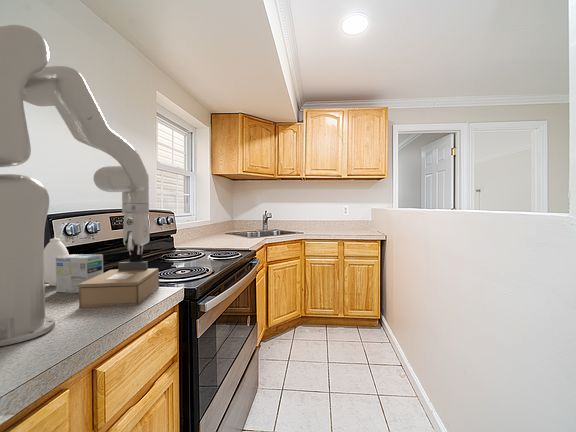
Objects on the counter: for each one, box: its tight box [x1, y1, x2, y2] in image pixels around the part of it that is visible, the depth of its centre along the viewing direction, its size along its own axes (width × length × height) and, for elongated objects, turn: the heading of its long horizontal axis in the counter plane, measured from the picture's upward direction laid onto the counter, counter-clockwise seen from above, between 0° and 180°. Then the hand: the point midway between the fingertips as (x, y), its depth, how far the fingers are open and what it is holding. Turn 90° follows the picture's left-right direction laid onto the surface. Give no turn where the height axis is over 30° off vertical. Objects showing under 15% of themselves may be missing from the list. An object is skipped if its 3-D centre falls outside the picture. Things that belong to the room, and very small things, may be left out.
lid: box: [78, 260, 159, 287], centre depth 82 cm, size 18×14×3 cm
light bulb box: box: [55, 253, 104, 294], centre depth 90 cm, size 11×7×11 cm, turn 84°
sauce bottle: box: [44, 230, 70, 287], centre depth 95 cm, size 8×8×18 cm
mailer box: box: [78, 270, 160, 309], centre depth 83 cm, size 18×14×5 cm
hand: (136, 266), depth 93 cm, fingers closed
